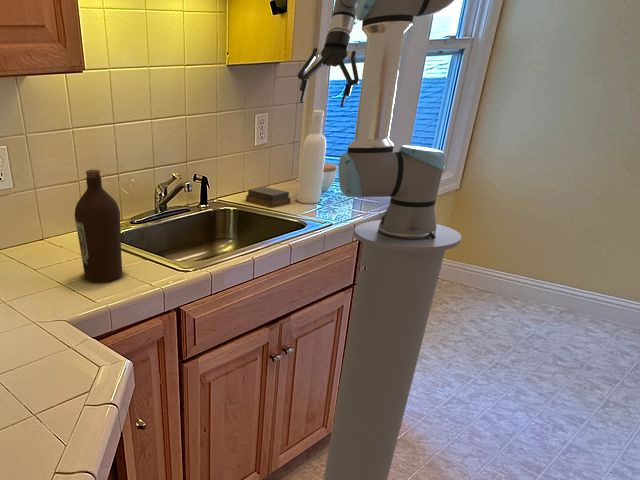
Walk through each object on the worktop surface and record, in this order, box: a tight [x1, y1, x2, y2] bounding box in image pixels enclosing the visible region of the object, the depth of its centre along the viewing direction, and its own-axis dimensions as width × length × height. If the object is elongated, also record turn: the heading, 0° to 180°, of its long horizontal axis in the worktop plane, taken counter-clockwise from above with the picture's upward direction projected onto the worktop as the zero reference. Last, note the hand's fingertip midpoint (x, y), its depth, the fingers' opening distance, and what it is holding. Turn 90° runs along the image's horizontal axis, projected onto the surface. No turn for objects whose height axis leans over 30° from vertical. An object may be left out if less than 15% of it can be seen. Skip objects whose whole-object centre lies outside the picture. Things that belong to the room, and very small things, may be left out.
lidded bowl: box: [321, 162, 339, 193], centre depth 197 cm, size 13×13×11 cm
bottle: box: [297, 109, 327, 204], centre depth 177 cm, size 8×8×30 cm
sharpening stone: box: [245, 186, 292, 208], centre depth 184 cm, size 14×9×4 cm, turn 32°
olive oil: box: [74, 169, 123, 283], centre depth 119 cm, size 11×11×25 cm
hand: (321, 104), depth 170 cm, fingers open, 13 cm apart
